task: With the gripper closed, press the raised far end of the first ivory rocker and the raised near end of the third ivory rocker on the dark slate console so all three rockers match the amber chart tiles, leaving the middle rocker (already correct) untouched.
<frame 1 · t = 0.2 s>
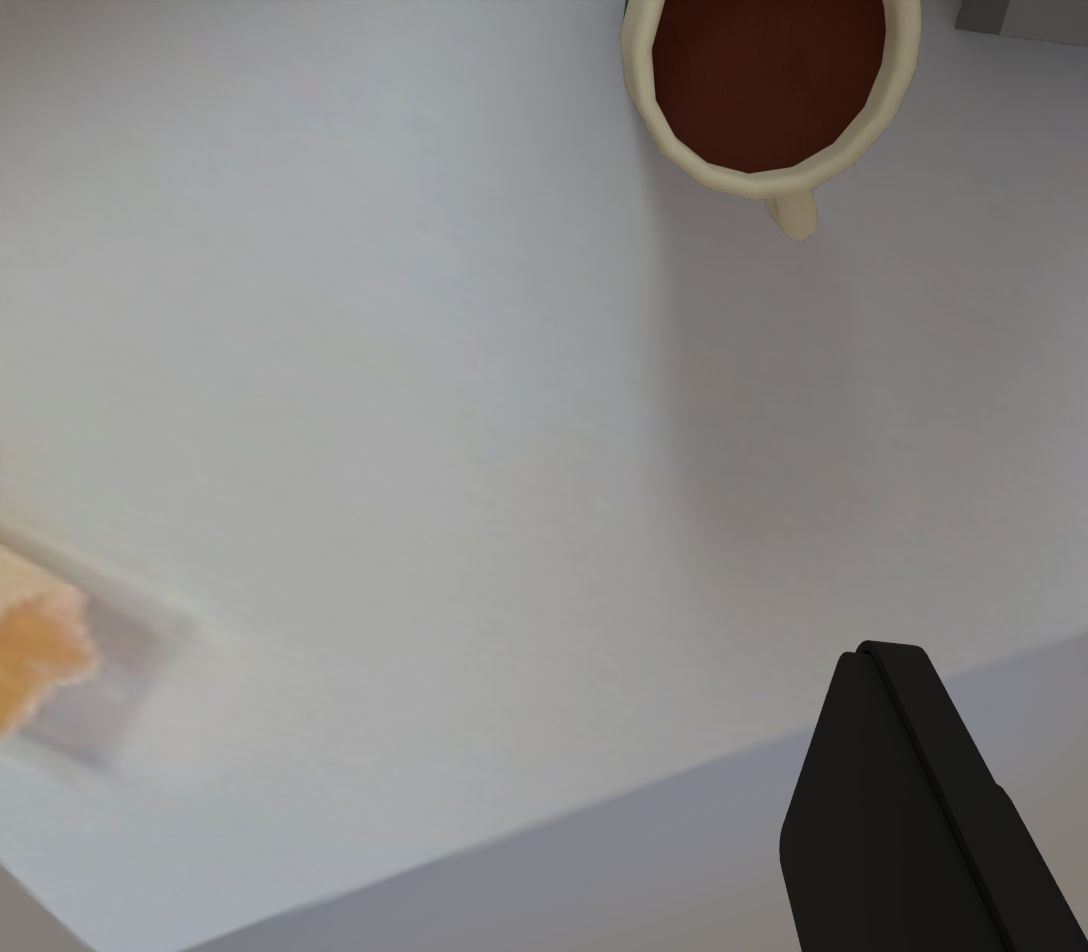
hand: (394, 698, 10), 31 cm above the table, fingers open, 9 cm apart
character mug: (705, 27, 35), on the table
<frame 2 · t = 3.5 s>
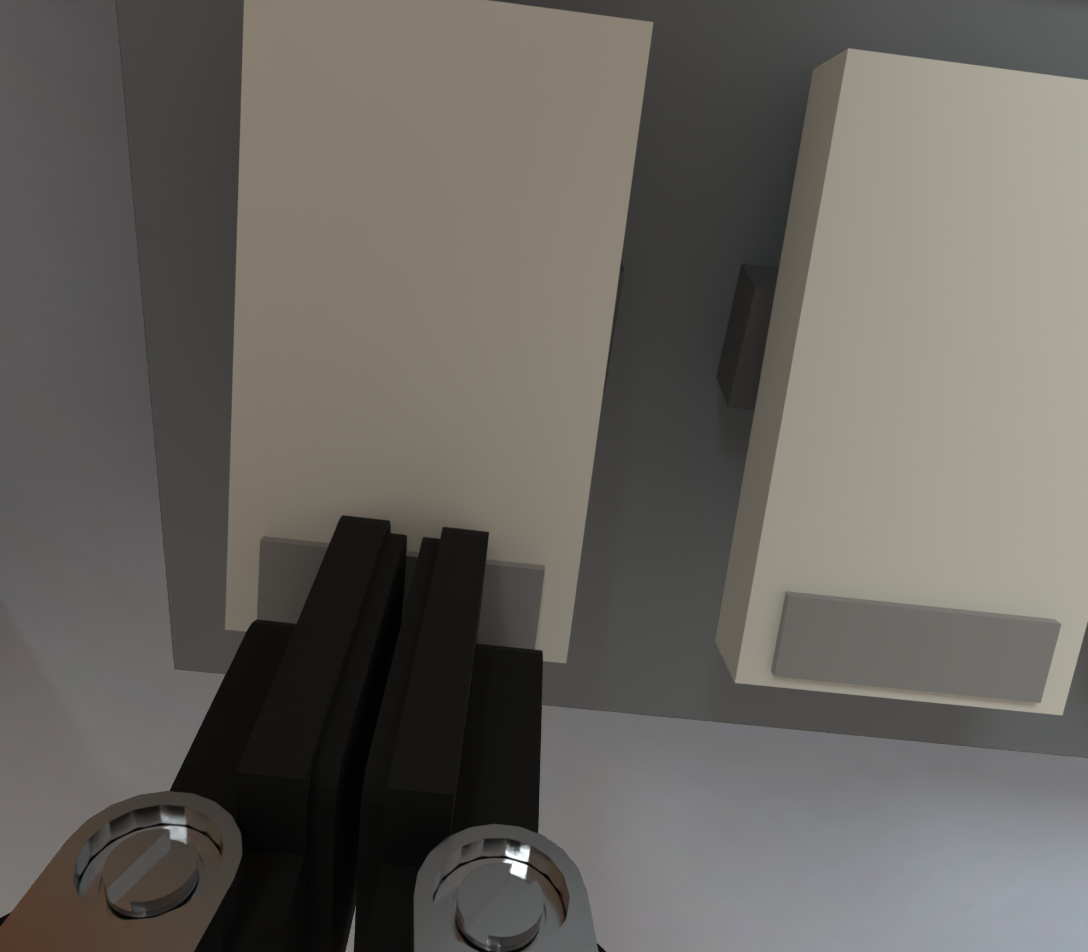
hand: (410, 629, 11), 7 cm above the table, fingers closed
console: (817, 257, 16), on the table
rocker a: (426, 343, 11), point 6 cm above the table, hinge at -13.1°, touching gripper
rocker b: (944, 403, 11), point 6 cm above the table, hinge at -15.0°
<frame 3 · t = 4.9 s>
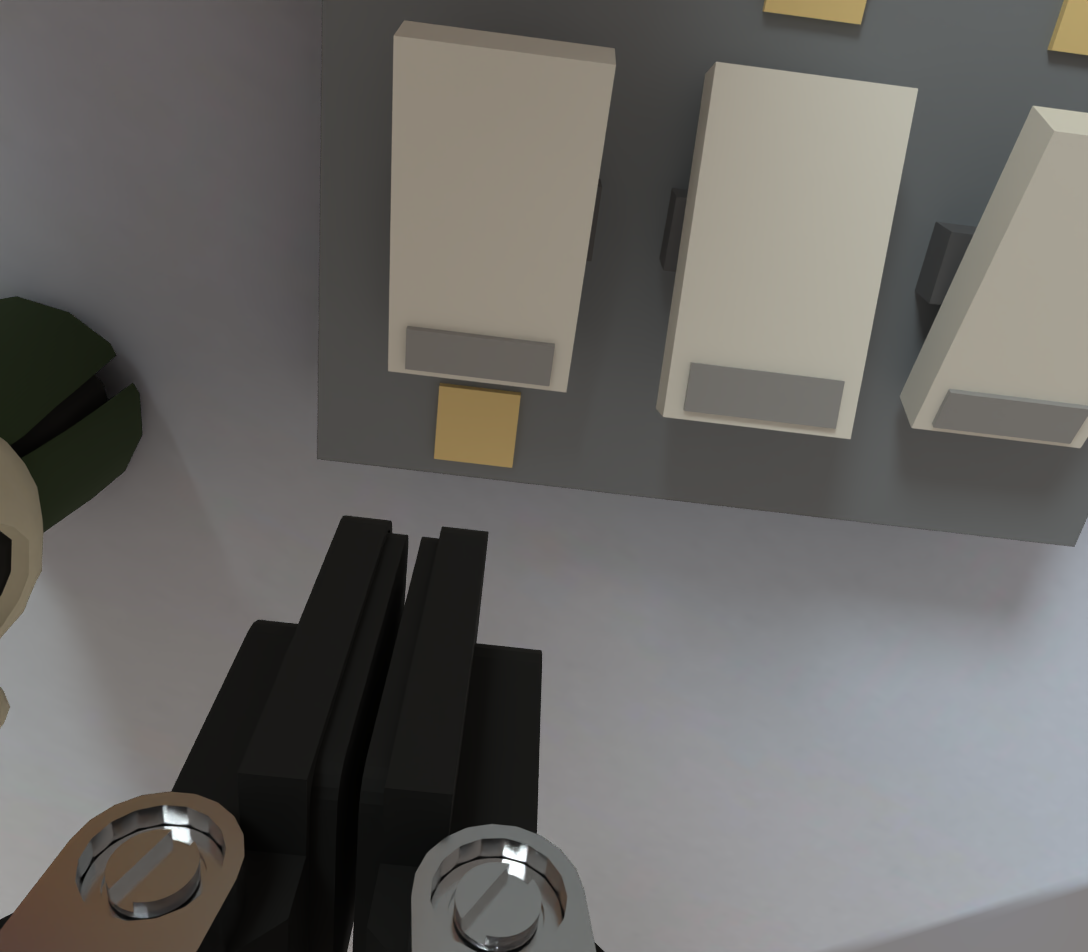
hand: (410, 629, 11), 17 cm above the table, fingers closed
character mug: (47, 390, 28), on the table
console: (733, 200, 25), on the table
rocker c: (1060, 295, 20), point 6 cm above the table, hinge at 15.0°
rocker a: (492, 224, 20), point 6 cm above the table, hinge at 10.1°
rocker b: (779, 258, 20), point 6 cm above the table, hinge at -15.0°
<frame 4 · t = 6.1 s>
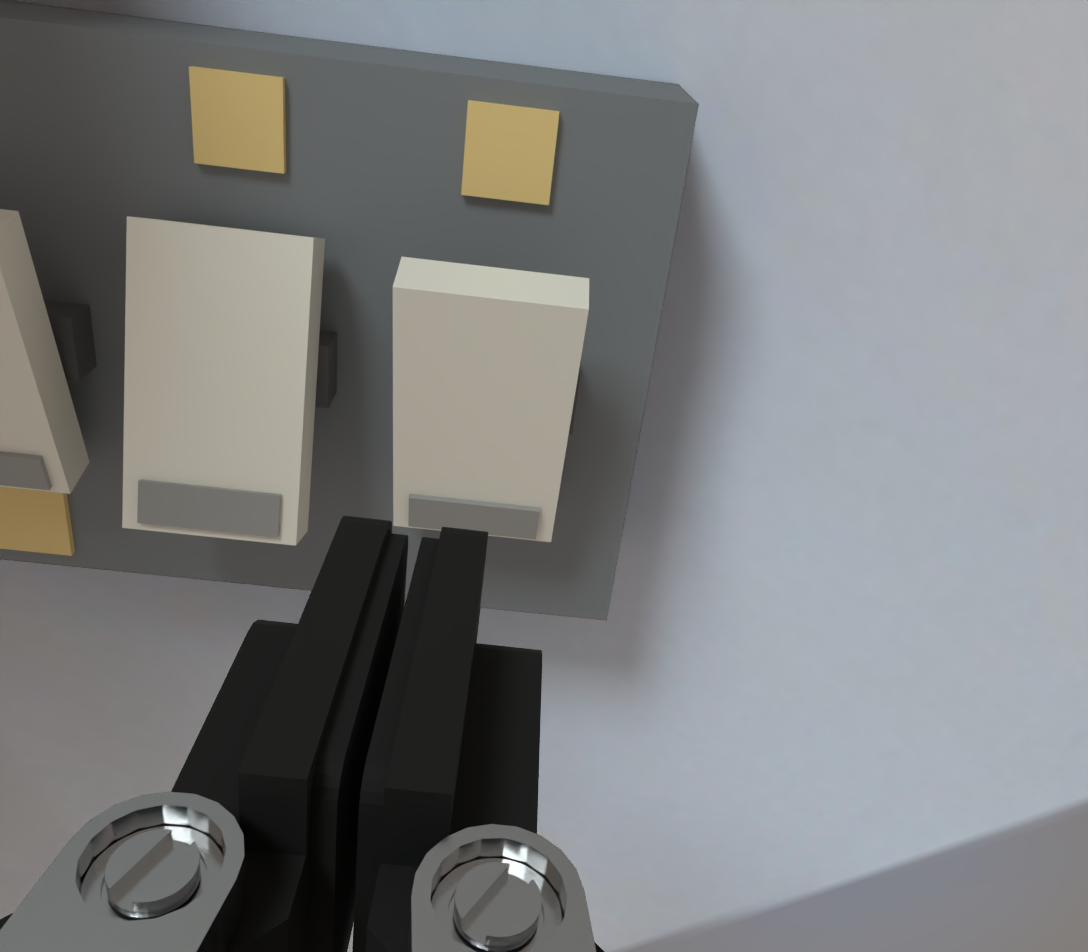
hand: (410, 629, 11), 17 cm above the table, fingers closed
console: (288, 303, 27), on the table
rocker c: (482, 414, 22), point 6 cm above the table, hinge at 15.0°
rocker b: (222, 384, 22), point 6 cm above the table, hinge at -15.0°
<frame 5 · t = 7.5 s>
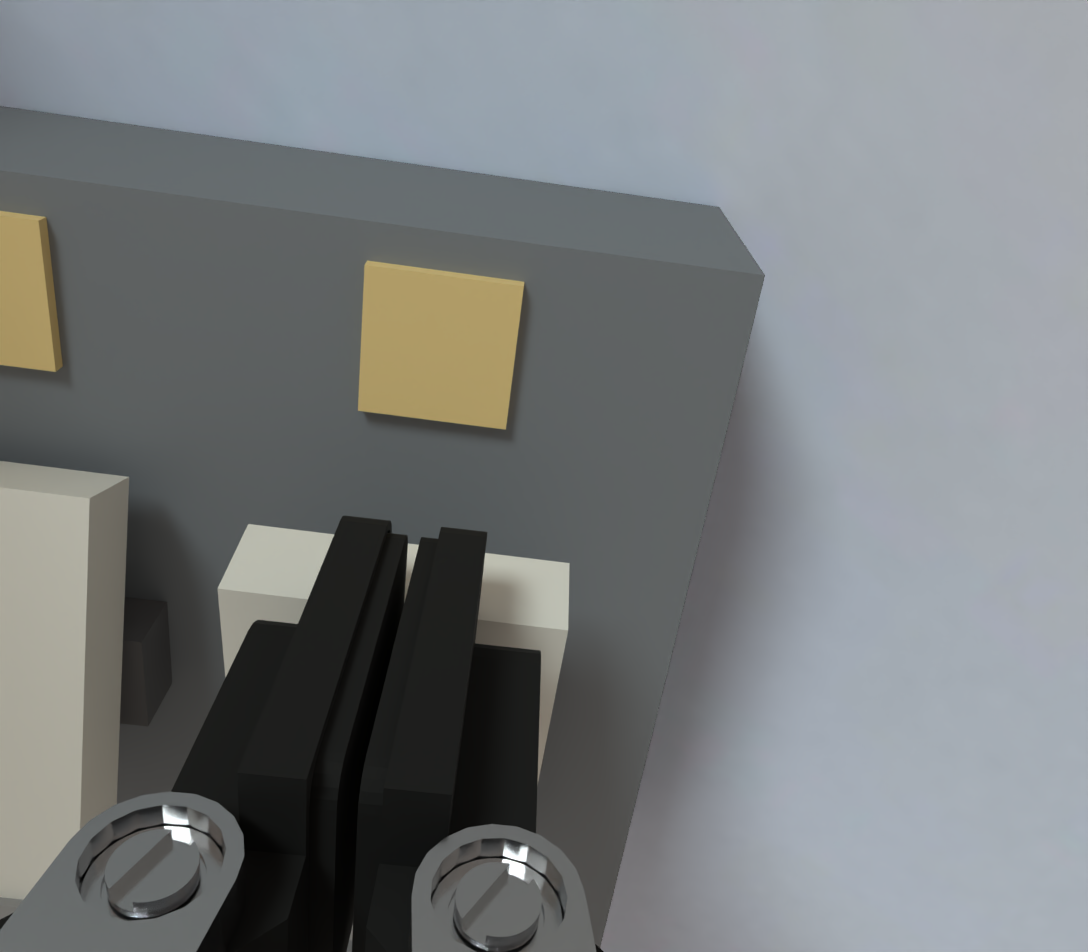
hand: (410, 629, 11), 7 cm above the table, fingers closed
console: (130, 501, 18), on the table
rocker c: (390, 768, 13), point 6 cm above the table, hinge at 6.9°, touching gripper
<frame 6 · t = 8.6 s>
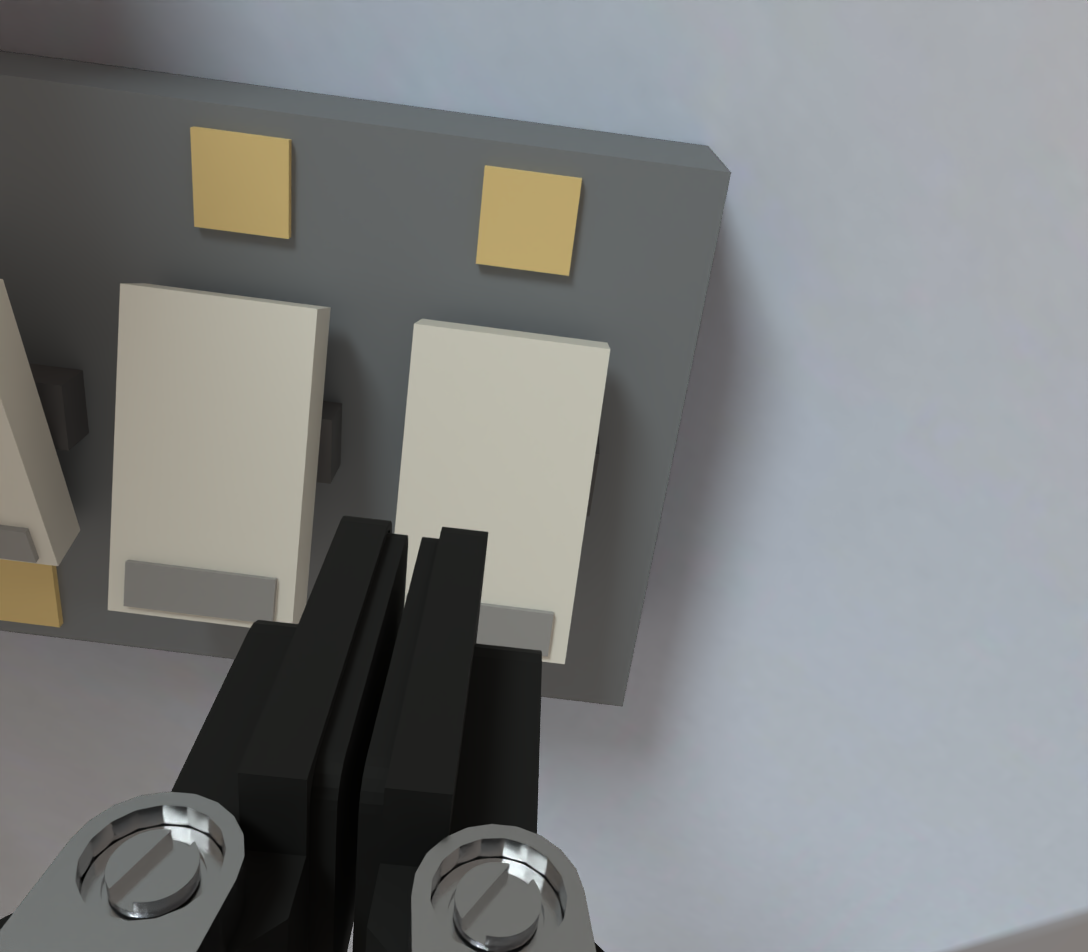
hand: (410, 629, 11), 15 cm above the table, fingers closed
console: (294, 364, 26), on the table
rocker c: (494, 495, 21), point 6 cm above the table, hinge at -12.2°
rocker b: (217, 459, 21), point 6 cm above the table, hinge at -15.0°
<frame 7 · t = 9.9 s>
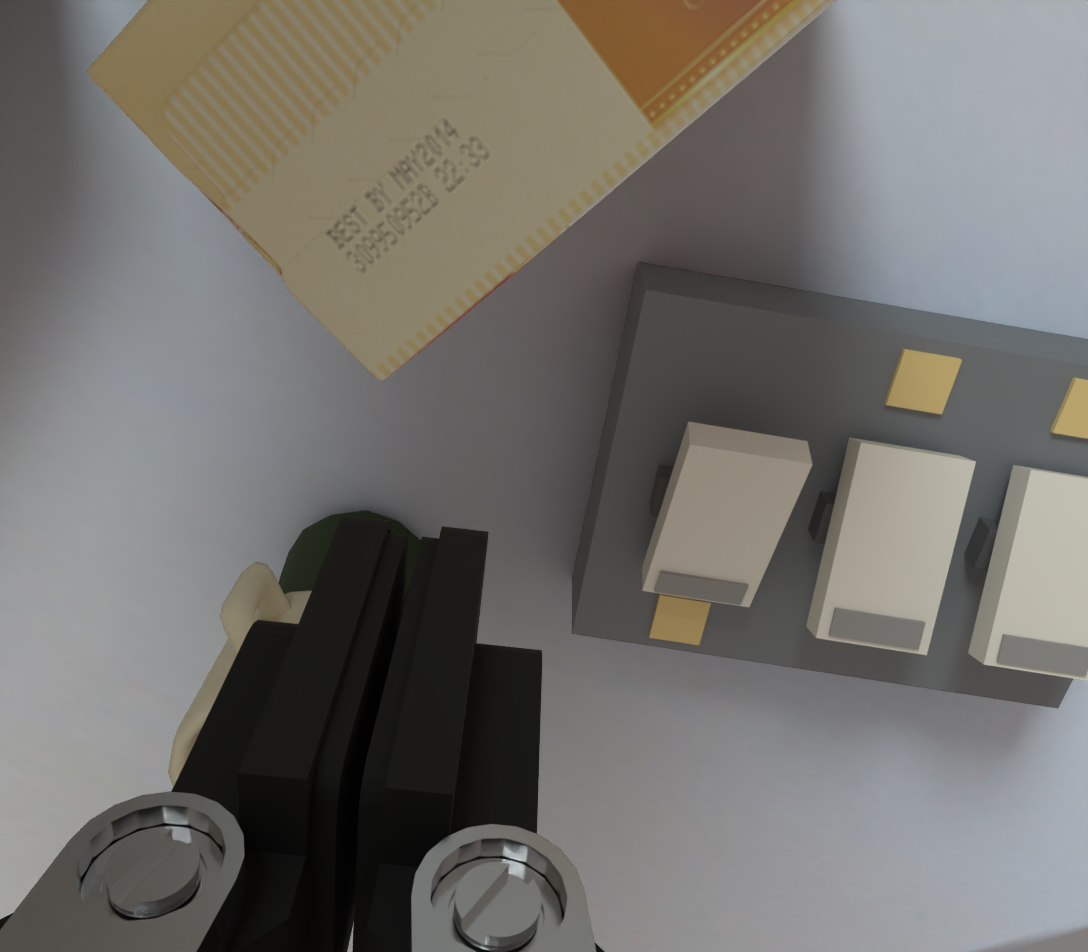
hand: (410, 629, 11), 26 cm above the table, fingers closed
character mug: (364, 564, 42), on the table
console: (844, 473, 39), on the table
rocker c: (1054, 573, 34), point 6 cm above the table, hinge at -17.3°
rocker a: (720, 521, 33), point 6 cm above the table, hinge at 15.3°
rocker b: (888, 547, 33), point 6 cm above the table, hinge at -15.0°
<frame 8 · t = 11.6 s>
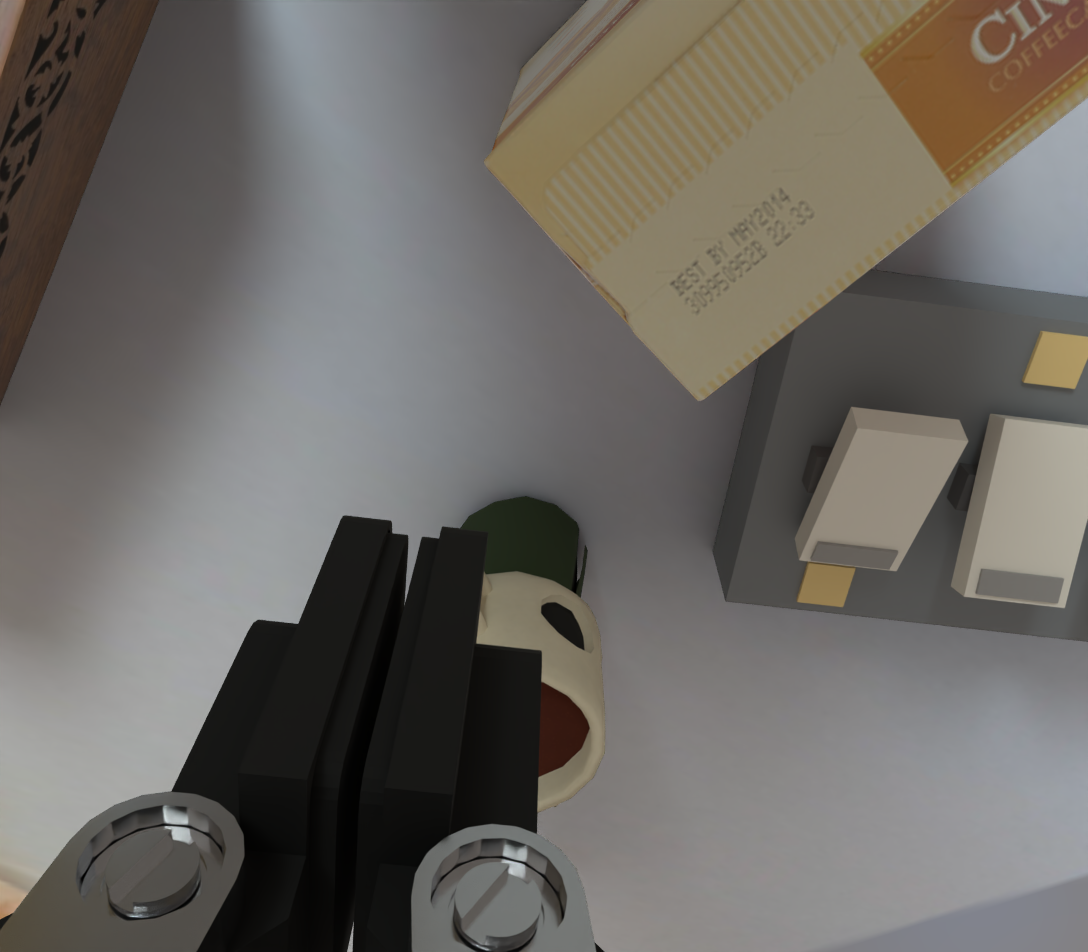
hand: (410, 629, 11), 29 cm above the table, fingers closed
character mug: (520, 545, 45), on the table
console: (968, 443, 42), on the table
rocker a: (875, 494, 36), point 6 cm above the table, hinge at 15.3°
rocker b: (1028, 511, 37), point 6 cm above the table, hinge at -15.0°
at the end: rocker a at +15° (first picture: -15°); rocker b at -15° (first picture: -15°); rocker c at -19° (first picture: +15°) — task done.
